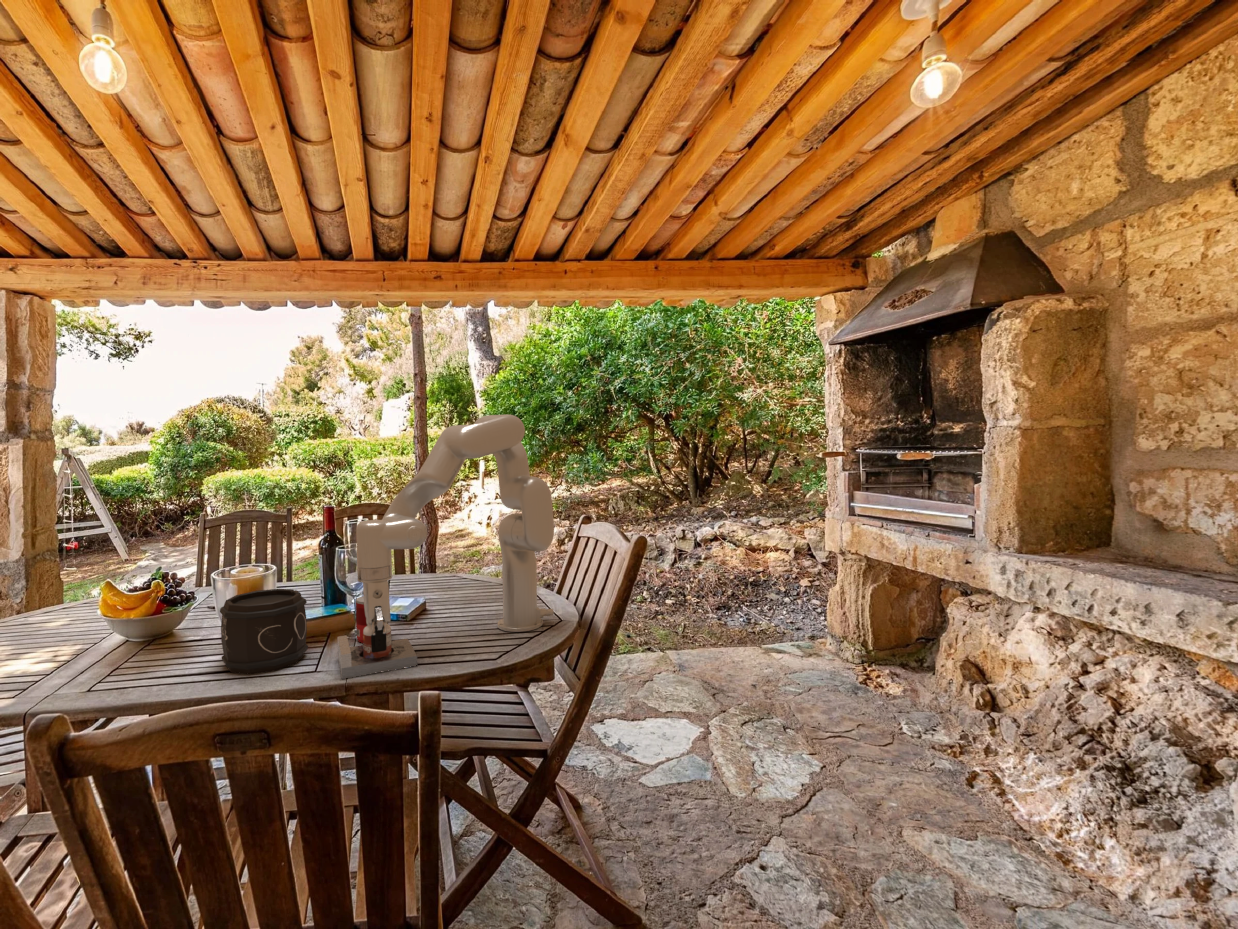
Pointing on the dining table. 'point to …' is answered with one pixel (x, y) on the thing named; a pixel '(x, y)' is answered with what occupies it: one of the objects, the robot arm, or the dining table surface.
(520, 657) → the dining table surface
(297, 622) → the chalk-marked storage tub
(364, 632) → the pill bottle
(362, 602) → the canned food
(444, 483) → the robot arm
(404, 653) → the jig
